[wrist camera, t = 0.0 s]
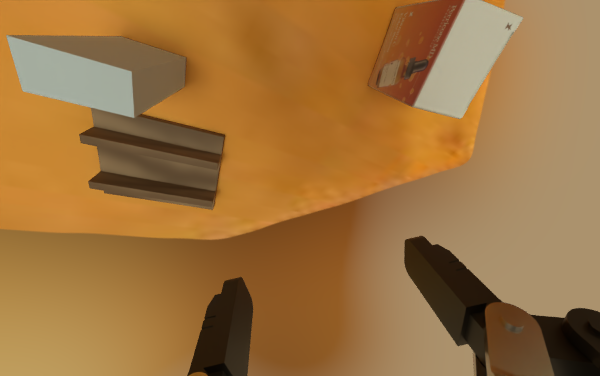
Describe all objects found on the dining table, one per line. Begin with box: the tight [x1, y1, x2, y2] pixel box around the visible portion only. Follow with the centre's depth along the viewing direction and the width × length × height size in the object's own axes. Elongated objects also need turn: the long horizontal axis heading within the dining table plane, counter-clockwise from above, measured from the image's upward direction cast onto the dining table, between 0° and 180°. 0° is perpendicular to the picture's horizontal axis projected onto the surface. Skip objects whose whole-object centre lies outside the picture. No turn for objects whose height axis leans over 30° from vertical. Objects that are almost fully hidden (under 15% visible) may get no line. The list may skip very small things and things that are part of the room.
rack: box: [79, 108, 225, 210], centre depth 29 cm, size 12×14×3 cm
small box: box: [368, 0, 523, 119], centre depth 22 cm, size 8×6×10 cm
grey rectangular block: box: [6, 35, 186, 118], centre depth 19 cm, size 3×6×12 cm, turn 72°
